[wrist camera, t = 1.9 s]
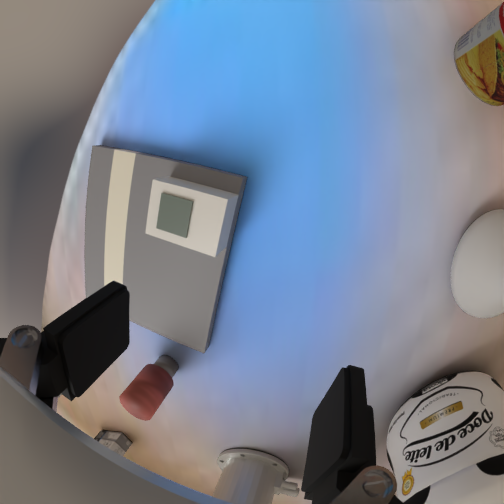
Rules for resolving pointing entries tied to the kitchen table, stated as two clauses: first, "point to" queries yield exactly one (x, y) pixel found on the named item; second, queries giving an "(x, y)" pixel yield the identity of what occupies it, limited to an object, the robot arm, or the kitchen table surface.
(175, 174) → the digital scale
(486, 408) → the milk container
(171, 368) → the reddish rounded cylinder
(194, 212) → the block
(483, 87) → the canned food
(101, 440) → the label tape cartridge
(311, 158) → the kitchen table surface
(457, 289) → the flower in vase
